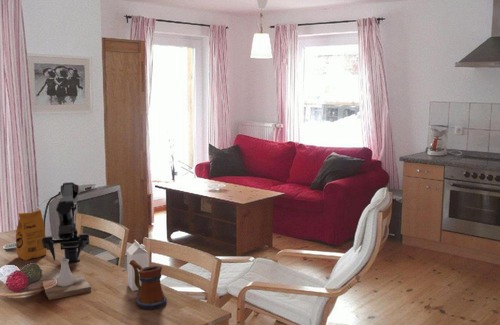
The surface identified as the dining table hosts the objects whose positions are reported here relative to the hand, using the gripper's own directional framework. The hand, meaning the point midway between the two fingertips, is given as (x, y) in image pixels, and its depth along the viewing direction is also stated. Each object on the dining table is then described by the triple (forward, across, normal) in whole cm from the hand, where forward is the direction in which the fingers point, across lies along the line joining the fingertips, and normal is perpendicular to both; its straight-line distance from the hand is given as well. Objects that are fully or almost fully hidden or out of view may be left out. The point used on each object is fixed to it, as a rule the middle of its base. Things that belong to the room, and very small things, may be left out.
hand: (66, 259), depth 219 cm
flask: (+11, 0, 0) cm, 11 cm away
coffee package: (-19, -18, +34) cm, 43 cm away
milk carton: (+17, +28, -3) cm, 33 cm away
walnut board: (+12, 0, +1) cm, 13 cm away
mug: (+27, +30, -13) cm, 43 cm away
